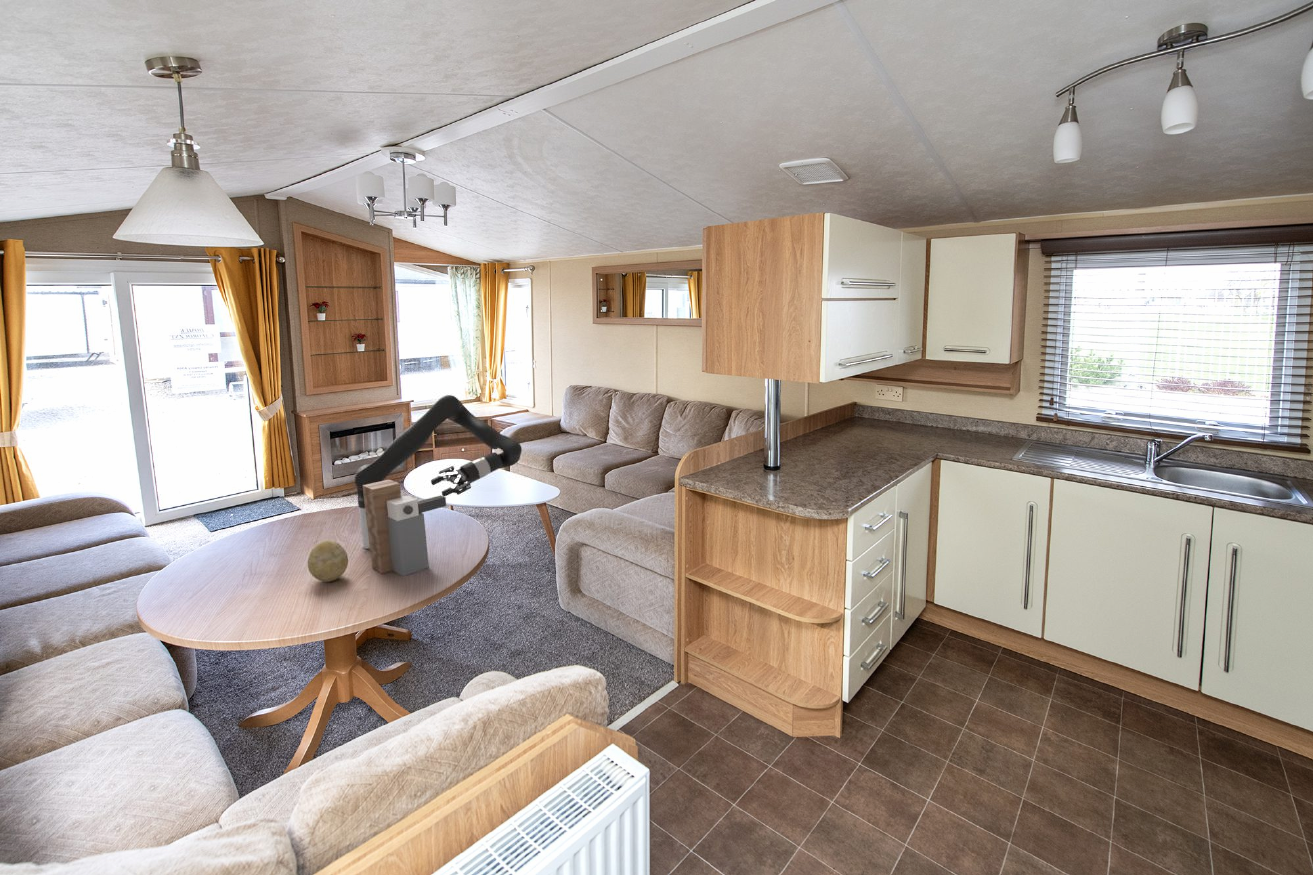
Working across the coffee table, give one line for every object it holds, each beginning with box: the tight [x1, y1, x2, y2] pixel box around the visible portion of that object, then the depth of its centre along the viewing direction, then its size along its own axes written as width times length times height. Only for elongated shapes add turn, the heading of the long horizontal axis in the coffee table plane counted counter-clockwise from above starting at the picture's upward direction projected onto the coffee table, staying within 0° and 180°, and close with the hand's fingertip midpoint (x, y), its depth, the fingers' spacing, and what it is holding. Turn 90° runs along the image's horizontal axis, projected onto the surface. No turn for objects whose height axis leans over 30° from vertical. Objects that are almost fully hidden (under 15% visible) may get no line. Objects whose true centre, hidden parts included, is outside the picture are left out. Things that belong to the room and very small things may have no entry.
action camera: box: [387, 495, 447, 521], centre depth 231 cm, size 9×20×6 cm, turn 138°
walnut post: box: [363, 478, 402, 575], centre depth 232 cm, size 8×10×32 cm
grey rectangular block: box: [387, 512, 430, 577], centre depth 231 cm, size 8×10×21 cm
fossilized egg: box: [307, 539, 349, 583], centre depth 223 cm, size 13×13×15 cm
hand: (436, 488), depth 235 cm, fingers open, 8 cm apart
